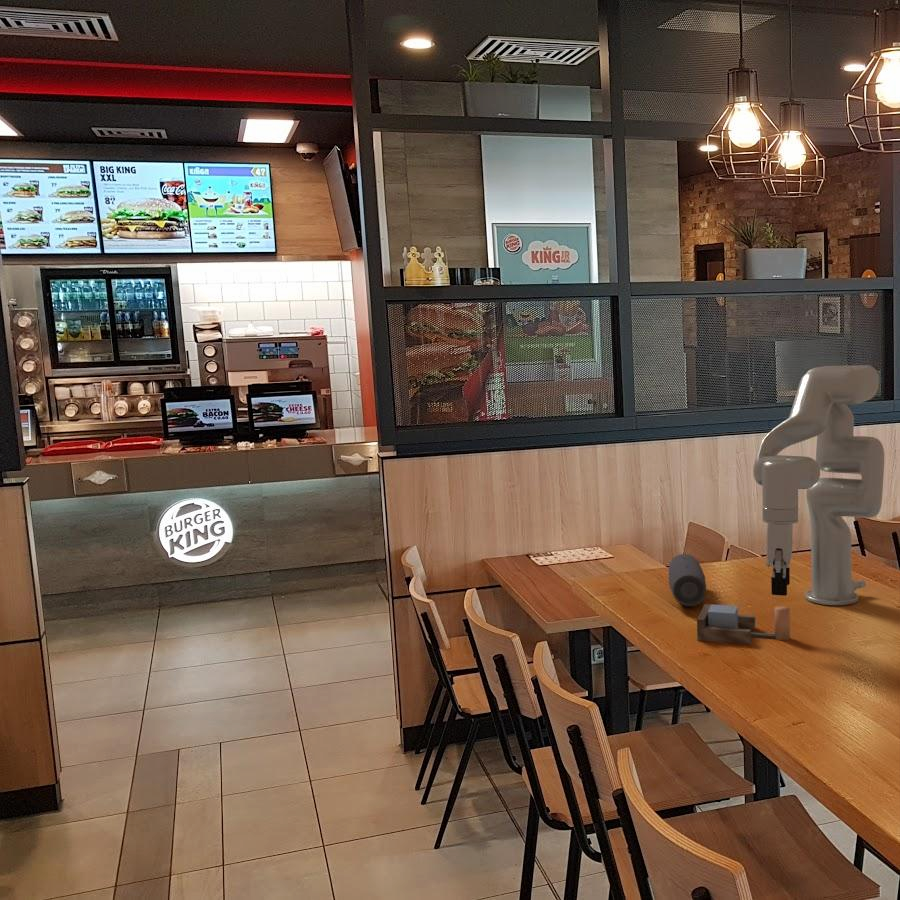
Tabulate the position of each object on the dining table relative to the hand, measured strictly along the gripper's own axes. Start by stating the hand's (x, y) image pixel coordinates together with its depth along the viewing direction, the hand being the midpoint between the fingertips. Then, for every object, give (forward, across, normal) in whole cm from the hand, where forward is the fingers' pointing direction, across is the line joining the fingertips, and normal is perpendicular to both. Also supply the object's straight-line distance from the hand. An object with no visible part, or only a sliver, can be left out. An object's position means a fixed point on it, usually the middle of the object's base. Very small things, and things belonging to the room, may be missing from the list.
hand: (780, 589), depth 201 cm
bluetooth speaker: (+11, -28, -25) cm, 39 cm away
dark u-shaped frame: (+12, -1, -11) cm, 16 cm away
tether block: (+12, -1, -7) cm, 14 cm away
